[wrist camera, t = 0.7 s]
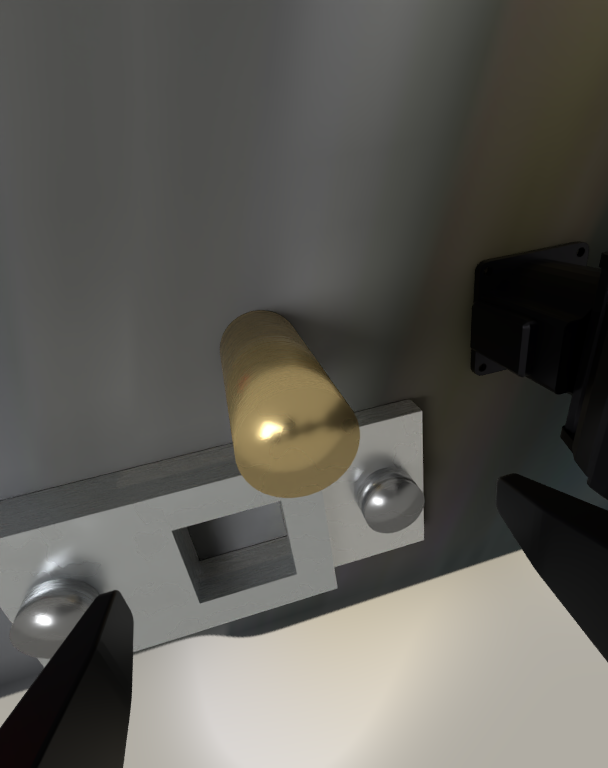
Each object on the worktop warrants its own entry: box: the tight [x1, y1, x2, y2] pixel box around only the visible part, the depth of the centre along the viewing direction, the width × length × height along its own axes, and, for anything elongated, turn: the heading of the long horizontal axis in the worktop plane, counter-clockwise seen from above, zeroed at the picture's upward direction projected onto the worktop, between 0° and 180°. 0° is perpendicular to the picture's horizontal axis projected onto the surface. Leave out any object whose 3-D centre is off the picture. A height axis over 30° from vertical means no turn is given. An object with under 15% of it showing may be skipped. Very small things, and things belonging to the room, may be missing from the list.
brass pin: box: [220, 310, 360, 498], centre depth 17 cm, size 4×4×9 cm
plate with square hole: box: [0, 399, 425, 667], centre depth 23 cm, size 23×10×4 cm, turn 99°
